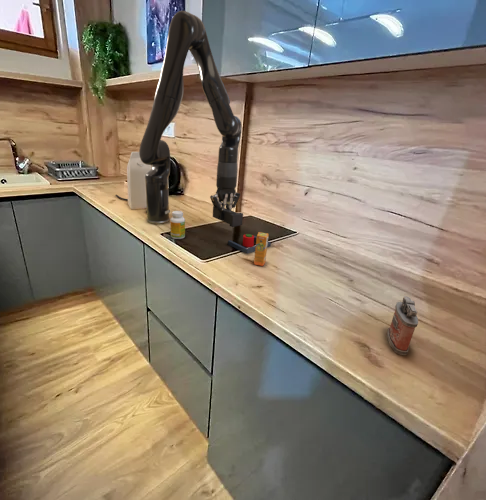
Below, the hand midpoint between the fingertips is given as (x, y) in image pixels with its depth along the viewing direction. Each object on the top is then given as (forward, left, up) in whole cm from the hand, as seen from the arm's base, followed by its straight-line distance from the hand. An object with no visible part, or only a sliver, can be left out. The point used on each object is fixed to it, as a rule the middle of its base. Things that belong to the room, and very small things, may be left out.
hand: (224, 219), depth 118 cm
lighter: (+71, -11, -6) cm, 73 cm away
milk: (-55, -9, -6) cm, 56 cm away
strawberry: (+14, 0, -6) cm, 16 cm away
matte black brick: (+1, 0, -1) cm, 1 cm away
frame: (+14, 0, -6) cm, 16 cm away
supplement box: (+28, -8, -6) cm, 30 cm away
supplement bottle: (-7, -17, -6) cm, 19 cm away
